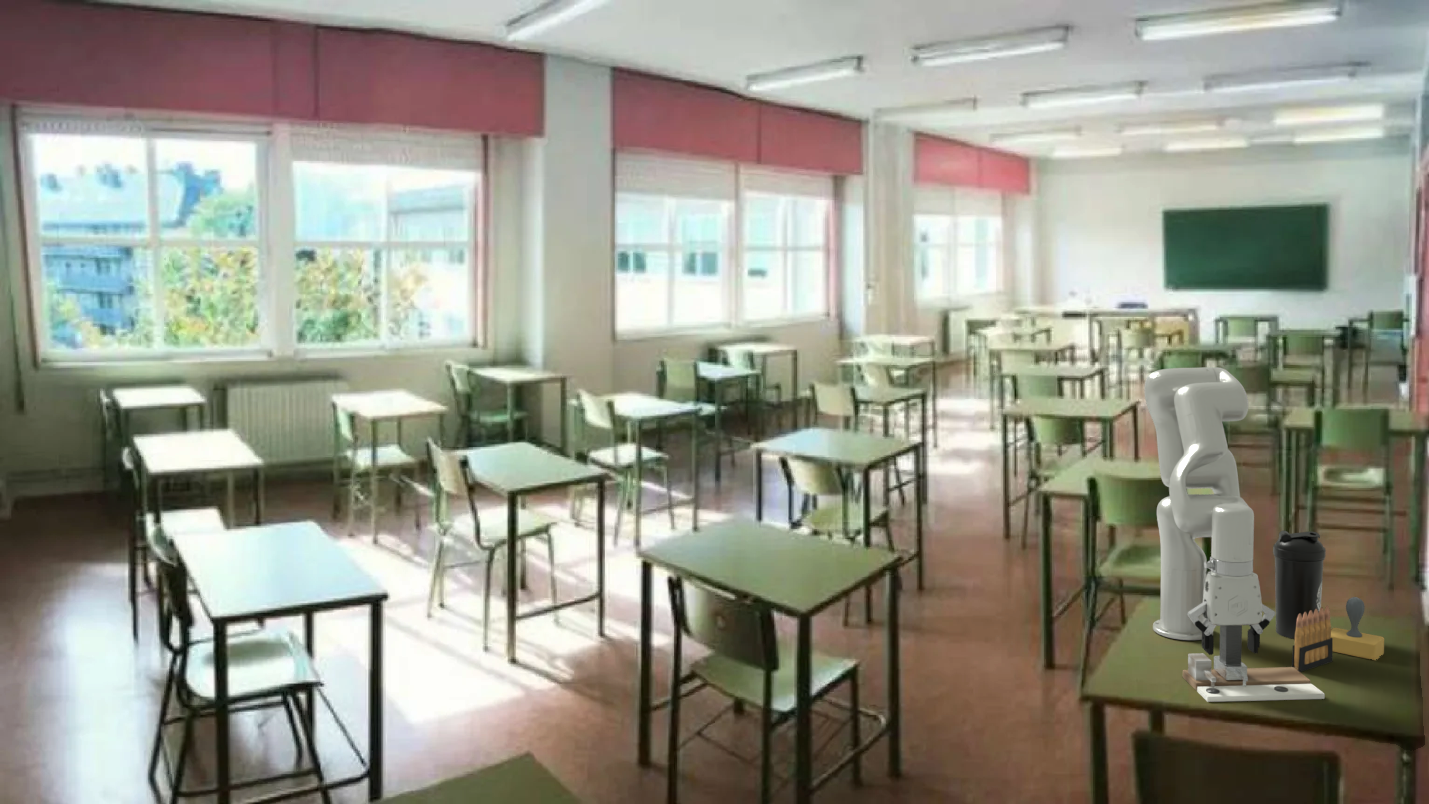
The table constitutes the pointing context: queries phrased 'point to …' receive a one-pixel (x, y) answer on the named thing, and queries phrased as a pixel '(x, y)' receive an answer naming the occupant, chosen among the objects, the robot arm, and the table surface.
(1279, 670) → the divider base
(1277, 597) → the water bottle
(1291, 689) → the hole plate
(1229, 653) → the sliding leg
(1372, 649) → the rubber stamp
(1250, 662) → the table surface
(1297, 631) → the ammunition clip
